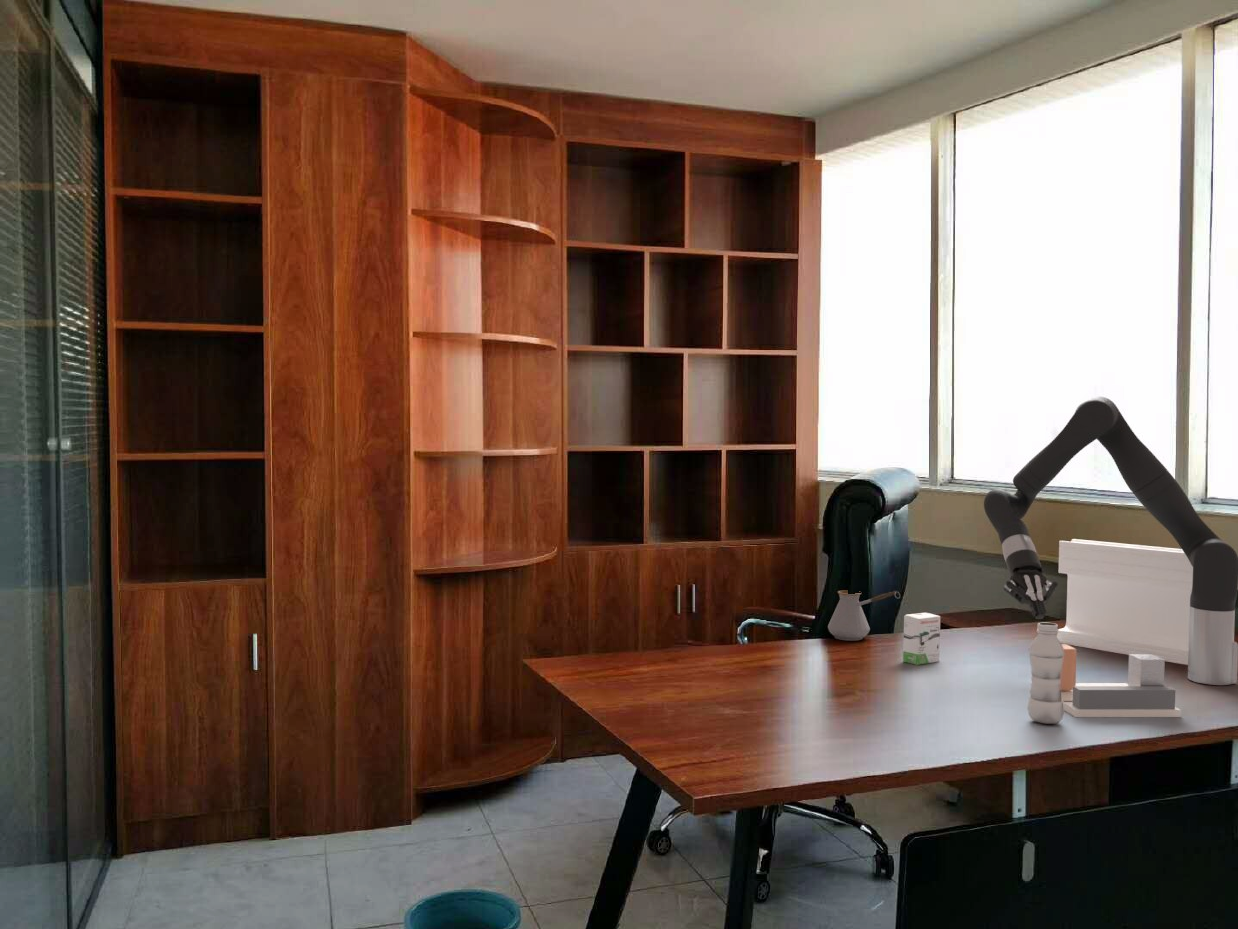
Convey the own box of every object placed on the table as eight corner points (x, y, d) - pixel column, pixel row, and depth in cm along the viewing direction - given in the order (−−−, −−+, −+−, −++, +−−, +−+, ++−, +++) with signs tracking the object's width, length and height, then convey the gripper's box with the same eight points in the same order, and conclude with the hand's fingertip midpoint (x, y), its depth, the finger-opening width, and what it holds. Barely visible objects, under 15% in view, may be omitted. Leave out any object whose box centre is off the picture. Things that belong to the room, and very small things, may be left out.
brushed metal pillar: (1127, 696, 227) (1128, 654, 227) (1150, 696, 227) (1151, 654, 227) (1139, 702, 222) (1141, 659, 222) (1163, 702, 222) (1164, 659, 222)
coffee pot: (819, 637, 296) (820, 584, 295) (843, 632, 303) (844, 579, 303) (886, 650, 280) (887, 593, 279) (909, 644, 288) (910, 589, 287)
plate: (1030, 689, 240) (1031, 665, 239) (1126, 689, 240) (1127, 665, 240) (1075, 717, 218) (1075, 690, 217) (1180, 717, 218) (1181, 690, 218)
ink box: (917, 665, 263) (918, 618, 262) (901, 661, 267) (902, 615, 266) (940, 661, 267) (941, 614, 267) (924, 657, 272) (926, 611, 271)
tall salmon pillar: (1042, 684, 237) (1043, 644, 236) (1065, 684, 237) (1066, 644, 236) (1052, 690, 232) (1053, 649, 231) (1075, 690, 232) (1076, 649, 231)
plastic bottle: (1060, 729, 209) (1062, 628, 208) (1024, 724, 212) (1026, 624, 212) (1066, 721, 214) (1068, 623, 213) (1030, 716, 218) (1033, 619, 217)
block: (1204, 661, 270) (1208, 551, 269) (1191, 665, 265) (1195, 554, 264) (1070, 638, 297) (1073, 539, 296) (1056, 642, 292) (1059, 541, 290)
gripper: (999, 547, 257) (1017, 607, 245) (1053, 548, 257) (1074, 608, 245) (989, 566, 262) (1007, 625, 251) (1042, 567, 263) (1063, 626, 251)
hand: (1040, 617), depth 248 cm, fingers closed
